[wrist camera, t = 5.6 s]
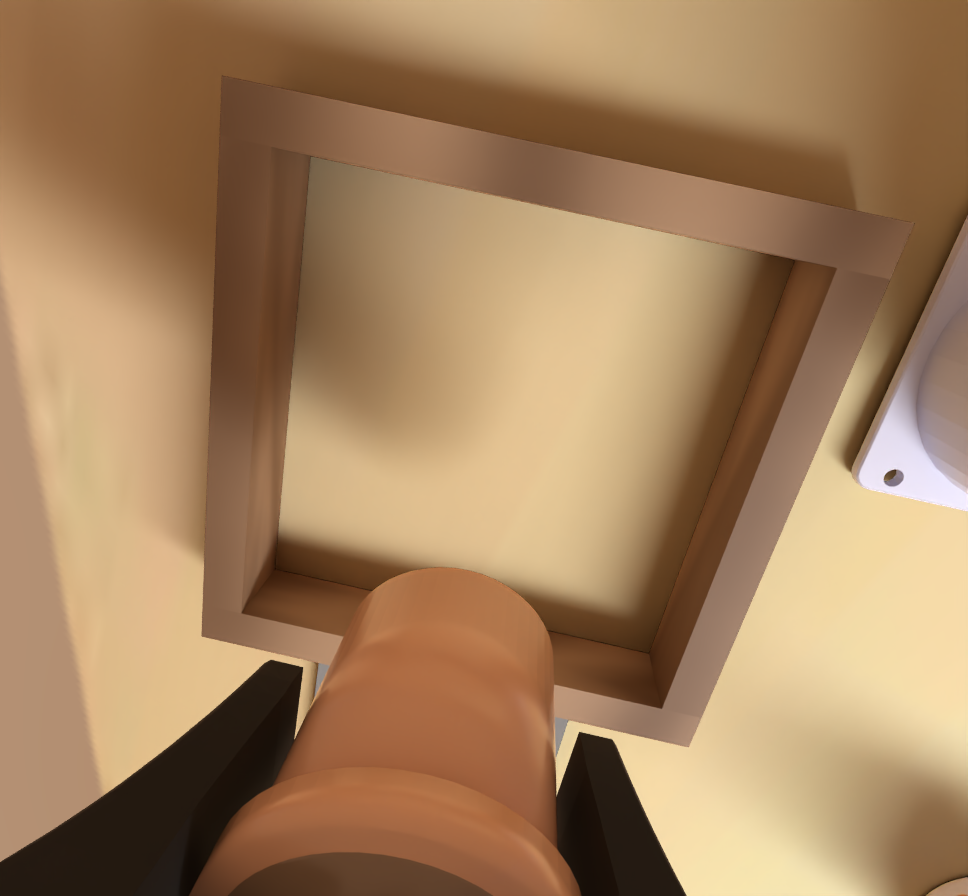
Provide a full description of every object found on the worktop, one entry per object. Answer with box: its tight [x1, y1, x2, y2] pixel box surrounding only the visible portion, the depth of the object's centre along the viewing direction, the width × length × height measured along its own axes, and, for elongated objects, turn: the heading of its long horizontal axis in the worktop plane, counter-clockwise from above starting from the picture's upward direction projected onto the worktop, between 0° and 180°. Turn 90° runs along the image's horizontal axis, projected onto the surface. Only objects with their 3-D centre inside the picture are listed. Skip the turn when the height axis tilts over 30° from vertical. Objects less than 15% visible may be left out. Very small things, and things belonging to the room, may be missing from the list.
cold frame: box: [202, 76, 915, 747], centre depth 17 cm, size 15×15×2 cm
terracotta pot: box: [189, 567, 581, 896], centre depth 11 cm, size 5×5×6 cm
